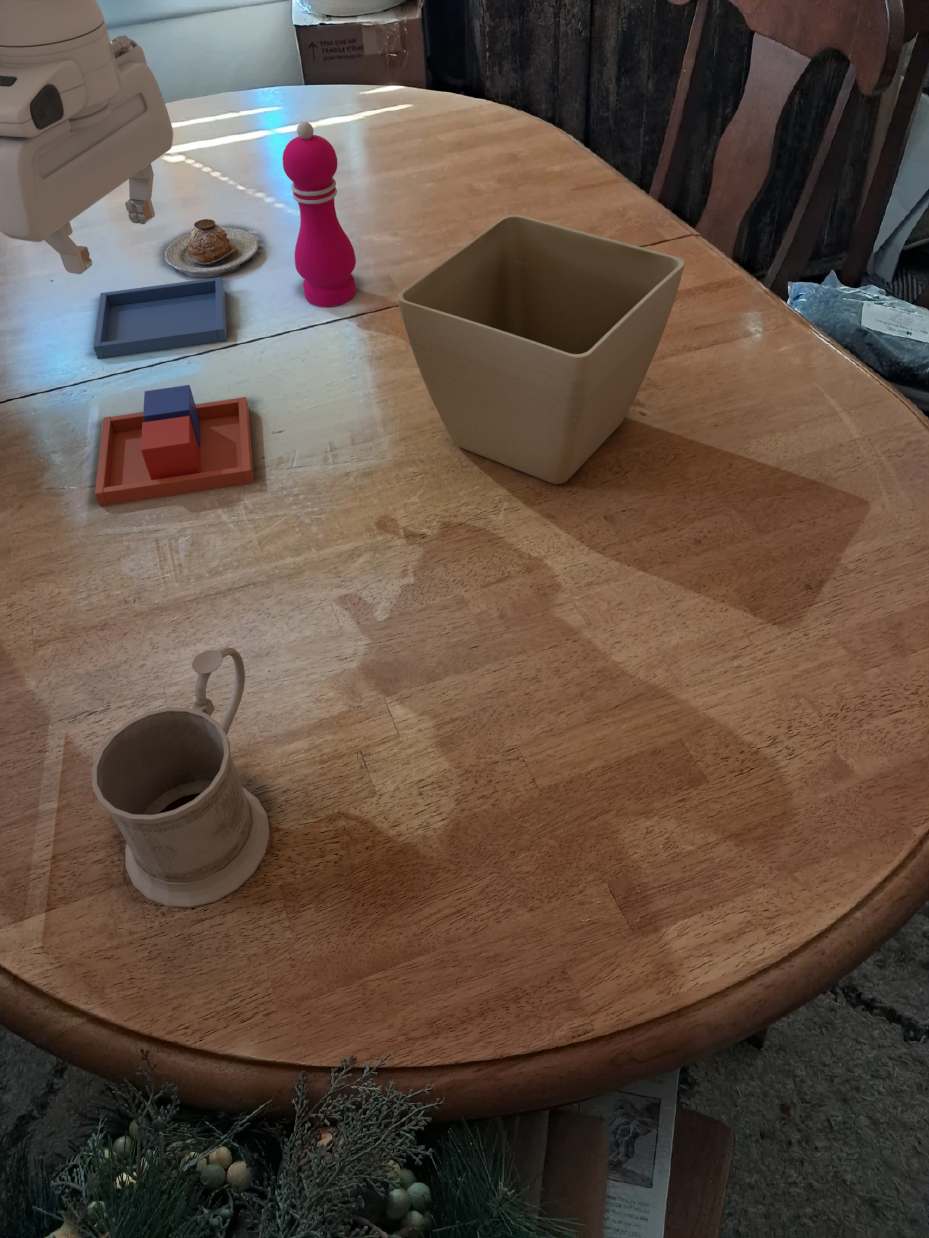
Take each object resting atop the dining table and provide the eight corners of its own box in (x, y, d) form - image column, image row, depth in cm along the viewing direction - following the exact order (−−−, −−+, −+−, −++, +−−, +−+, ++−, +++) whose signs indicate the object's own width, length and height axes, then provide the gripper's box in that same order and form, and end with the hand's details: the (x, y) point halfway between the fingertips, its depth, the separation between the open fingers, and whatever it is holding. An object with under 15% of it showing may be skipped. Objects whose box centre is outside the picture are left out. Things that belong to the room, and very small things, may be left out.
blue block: (155, 454, 99) (142, 416, 96) (156, 428, 102) (144, 391, 99) (200, 447, 100) (189, 409, 96) (200, 421, 103) (189, 384, 99)
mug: (222, 927, 64) (174, 828, 55) (97, 879, 67) (33, 778, 58) (323, 755, 73) (296, 647, 65) (210, 719, 76) (169, 611, 67)
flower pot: (670, 414, 100) (689, 256, 88) (576, 520, 90) (584, 357, 78) (511, 363, 108) (509, 211, 96) (408, 454, 98) (391, 297, 86)
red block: (153, 487, 95) (140, 450, 92) (155, 460, 98) (142, 422, 95) (200, 480, 96) (189, 442, 92) (200, 453, 99) (189, 415, 96)
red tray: (101, 510, 94) (94, 493, 93) (109, 433, 103) (102, 417, 101) (254, 486, 96) (250, 470, 94) (249, 412, 104) (245, 396, 103)
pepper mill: (292, 290, 122) (260, 119, 107) (346, 274, 124) (322, 104, 109) (313, 315, 117) (283, 140, 103) (369, 299, 119) (347, 125, 105)
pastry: (150, 258, 129) (140, 224, 126) (228, 227, 135) (220, 193, 131) (197, 289, 123) (188, 254, 120) (277, 256, 128) (270, 221, 125)
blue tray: (98, 362, 112) (92, 347, 111) (105, 308, 121) (100, 292, 120) (227, 344, 114) (223, 329, 112) (225, 291, 122) (221, 276, 121)
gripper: (103, 25, 83) (149, 190, 93) (-67, 115, 70) (8, 295, 80) (167, 30, 81) (206, 197, 91) (5, 123, 68) (72, 306, 78)
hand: (112, 244), depth 86 cm, fingers open, 8 cm apart
